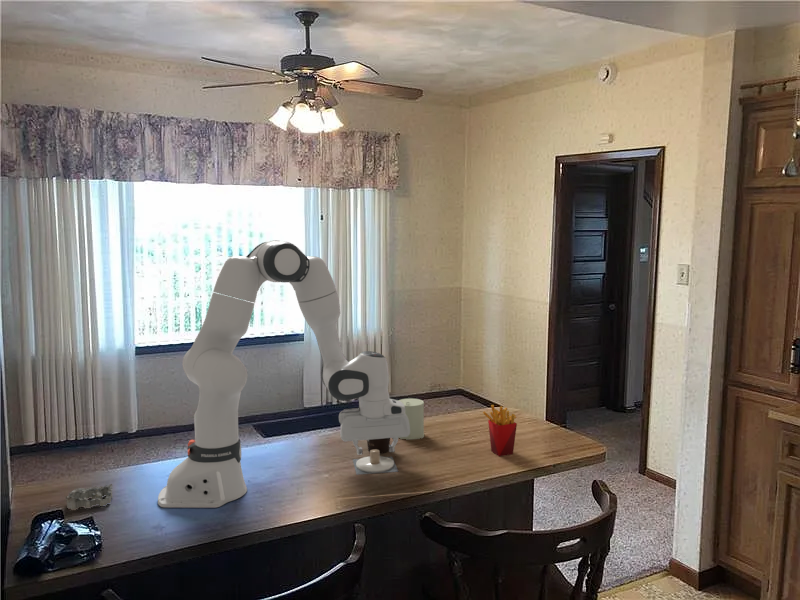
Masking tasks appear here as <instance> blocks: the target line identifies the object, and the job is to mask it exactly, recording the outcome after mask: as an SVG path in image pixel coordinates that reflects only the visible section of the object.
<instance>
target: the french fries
mask: <svg viewBox="0 0 800 600" xmlns="http://www.w3.org/2000/svg"><path fill="white" fill-rule="evenodd" d="M490 408H491V411H490V412H489V413H487V412H486V411H485V410H483V412H482V414H483V415H484V416H485V417H486V418H488V419H487V420H488V421H487V422H488V432H489V441H490V450H491V452H492V453H493V454H495V455H496V456H498V457H504V456H510V455H513V454H514V450H515V449H514V448H515V442H516V434H517V425H518V424H517V423H516V422H515V419H516V418H517V416H516V414H515V413H511V415H510V411H509V410H508V407H504V408H503V406H501V405H500V406H499V410H498V409H496V408H495V405H494V404H491V405H490ZM489 414H490V415H489Z"/></svg>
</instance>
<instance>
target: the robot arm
mask: <svg viewBox="0 0 800 600" xmlns="http://www.w3.org/2000/svg"><path fill="white" fill-rule="evenodd" d="M267 281H269V282H272V283H289V284H290V285H291V286H292V288H293V290H294V292H295V296H296V297H295V298H296V300H297V303H298V306H299V308H300V311H301V313H302V316H303V318H304V319H305V321H306V324H307V325H308V326H309V327H310V329H311V330H312V332H313V333H314V336H315V339H316V342H317V345H318V348H319V352H320V356H321V360H322V363H321V369H320V370H321V371H320V374H321V375H320V376H321V377H320V379H321V381H322V383H323V385H324V386H325V388H326V390H327V391H328V392H329V394H330V395H331V396H332V397H333V398H334V399H335V400H338V401H341V402H346V401H350V400H355V399H358V407H353V408H344V409H343V410H341V411H340V412H339V414H338V422H339V424H340V429H339V430H340V433H339V436H340V439H341V440H342V441H343V442H352V444H353V446H354V447H355V449H356V454H357V456H359V455H363V447H362V446H359V445H358V444H359V441H367V440H370V439H383V438H390V439H392V440H393V441H392V442H391V443H390V445H389V451H388V452H389V453H395V450H396V449H395V447H396V445H397V443H398V442H399V438H398V437H407V436H408V435H409V434H410V425H409V420H408V417H407V415H406V413H405V406H404V404H403V403H402V402H401V401H398V399H394V398H391V397H390V393H389V383H390V374H389V364H388V360H387V358H386V356H384V355H383V354H382V353H380V352H376V351H370V350H369V351H368V350H366V351H362V352H360V353H359V354H358V355H357V356H356V357H354V358H353V359H351V360H349V359H347V357H346V356H345V354H344V352H343V349H342V346H341V342H340V338H339V335H338V330H337V322H338V320H339V318H340V316H341V307H340V306H341V305H340V300H339V296H338V291H337V288H336V285H335V283H334V279H333V277H332V275H331V272H330V270H329V268H328V266H327V264H326V263H325V261H324V260H323V259H322V258H321V257H318V256H310V255H309V256H308V255H306V254H305V253H303V251H302V250H301V249H300V248H299V247H298V246H296V244H294V243H291V242H289V241H283V240H270V241H265V242H262V243H260V244H258V245H256V246H255V247H254V248H253V249H252V250H251V252H250V253H248V254H247V255H246V256H244V255H234V256H230V257H229V258H227V259H226V261H225V262H224V264H223V266H222V268H221V269H220V271H219V274H218V277H217V279H216V282H215V285H214V288H213V291H212V294H211V299H210V300H209V301H210V302H209V305H208V308H207V311H206V315H205V317H204V318H205V319H204V320H203V323H202V326H201V328H200V330H199V332H198V334H197V336H196V338H195V340H194V341H193V344H192V345H191V347H190V349H188V350H187V352H185V354H184V355H183V357H182V369H183V371H184V374H185V376H186V377H187V378H188V380H189V381H190V382H192V384H194V385H197V386H198V389H199V397H198V403H197V408H196V410H195V412H194V414H193V421H194V422H193V424H194V439H189V441H188V443H187V458H185V459H184V460H183V461H182V462H180V463H179V464H178V465H176V466H175V467H174V468H173V469H172V470H171V472H170V473H169V475H168V478H167V482H166V485H165V487H164V486H163V488H162V489H161V490H160V492H159V493H158V495H157V504H158V506H160V507H161V508H189V509H190V508H195V509H196V508H197V509H198V508H199V509H200V508H204V509H205V508H219V507H222V506H224V505H225V504H227V503H229V502H233V501H235V500H237V499H239V498H241V497H243V496H245V494H246V493H247V492H248V487H247V484H246V481H245V479H244V478H245V477H244V475H243V469H242V462H241V461H242V444H241V439H240V437H239V404H240V399H241V395H242V390H243V389H244V388H245V386H246V384H247V381H248V370H247V367H246V366H245V364H244V363H243V362H242V361H241V359H240V358H239V357H238V356H236V355H235V354H233V353H234V350H235V349H236V347H237V345H238V343H239V341H240V340H241V338H243V336H245V334H246V333H247V332H248V329H249V325H250V322H251V318H252V316H253V315H252V314H253V311H254V308H255V303H256V300H257V296H258V292H259V290H260V288H261V286H262V285H263V284H264V283H265V282H267Z"/></svg>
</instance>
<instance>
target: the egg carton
mask: <svg viewBox="0 0 800 600" xmlns="http://www.w3.org/2000/svg"><path fill="white" fill-rule="evenodd" d="M104 495H106V497H104V499H103V498H102V496H104ZM89 497H92V498H91V499H89V500H87V498H89ZM111 498H112V499H113V484H112V483H111V484H109V485H104V486H102V485H101V486H100V487H99V486H94V487H87V488H84V487H83V488H82V487H78V488H75V489H73V490H72V491H70V492H69V494H68V495H67V496H65V500H66V508H71V509H76V508H78V507H81V506H85V507H86V508H87V507H91V506H92V505H96V504H99V505H100V506H103V505H106V504H107V503H110V502H111V500H112V499H111ZM111 503H112V502H111ZM100 506H99V507H100ZM86 508H85V509H86Z"/></svg>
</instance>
